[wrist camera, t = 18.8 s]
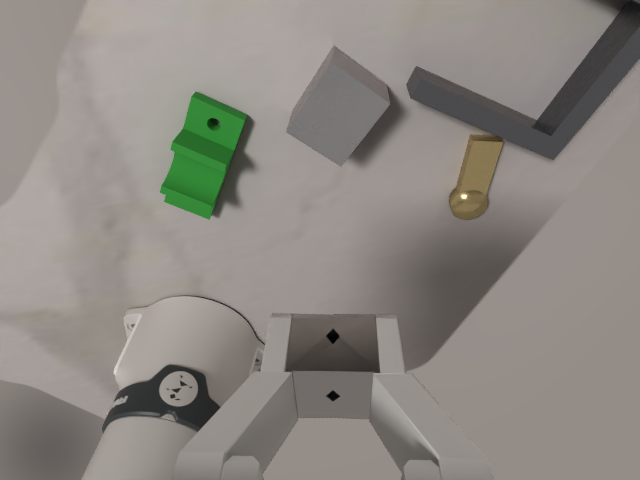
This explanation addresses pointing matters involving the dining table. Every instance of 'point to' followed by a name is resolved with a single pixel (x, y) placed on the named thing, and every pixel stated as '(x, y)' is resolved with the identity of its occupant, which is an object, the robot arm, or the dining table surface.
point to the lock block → (338, 107)
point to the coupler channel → (565, 109)
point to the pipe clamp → (202, 155)
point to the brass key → (475, 176)
